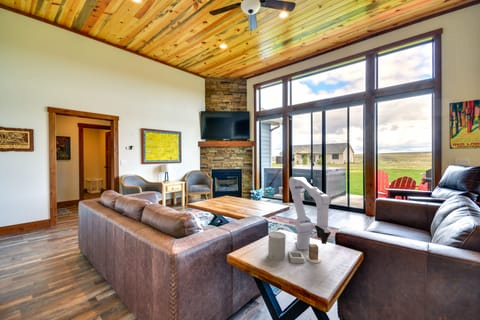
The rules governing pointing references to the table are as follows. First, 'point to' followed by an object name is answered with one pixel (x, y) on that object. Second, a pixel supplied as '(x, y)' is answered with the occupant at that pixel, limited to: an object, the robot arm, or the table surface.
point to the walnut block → (313, 252)
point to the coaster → (314, 260)
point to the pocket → (296, 257)
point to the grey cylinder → (276, 246)
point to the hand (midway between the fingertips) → (321, 240)
